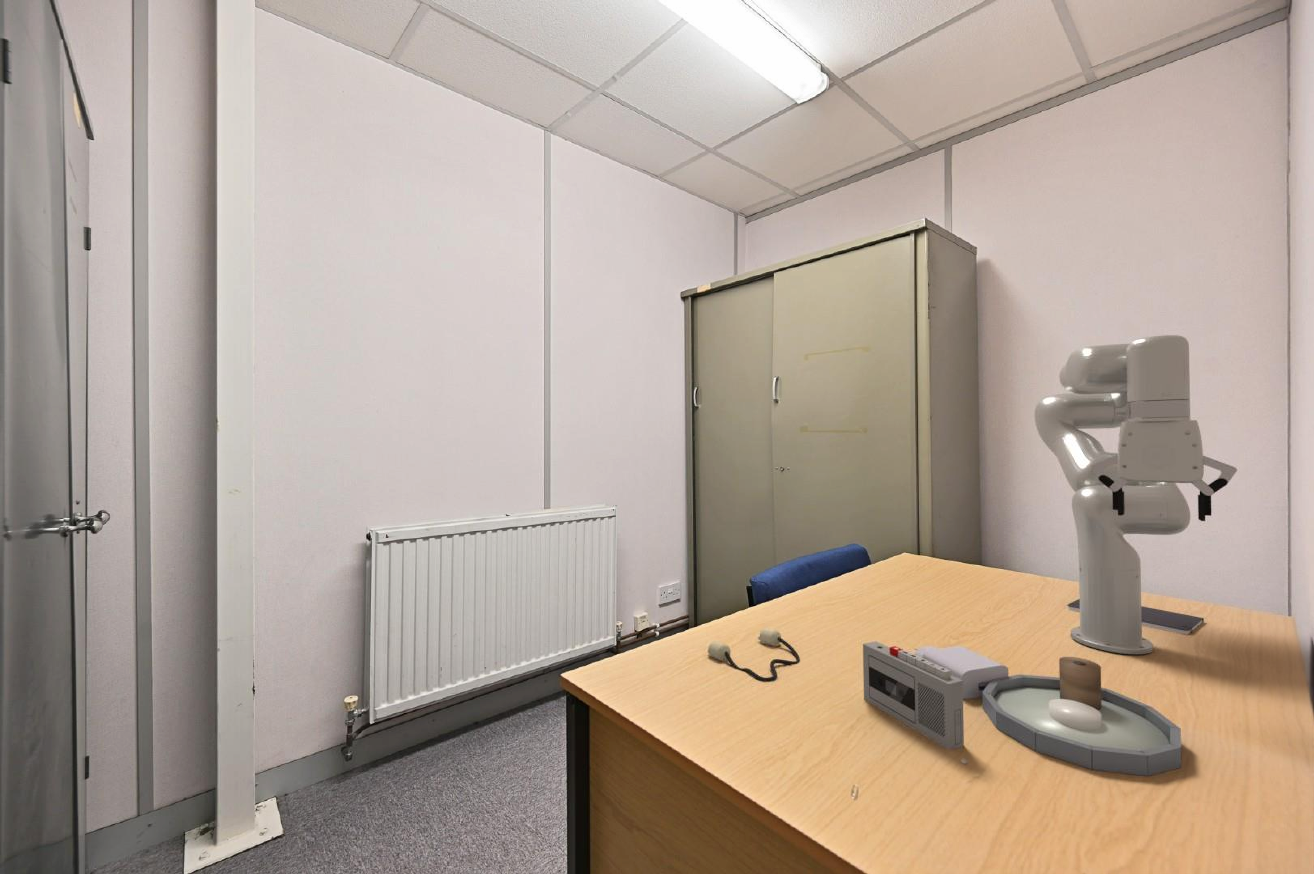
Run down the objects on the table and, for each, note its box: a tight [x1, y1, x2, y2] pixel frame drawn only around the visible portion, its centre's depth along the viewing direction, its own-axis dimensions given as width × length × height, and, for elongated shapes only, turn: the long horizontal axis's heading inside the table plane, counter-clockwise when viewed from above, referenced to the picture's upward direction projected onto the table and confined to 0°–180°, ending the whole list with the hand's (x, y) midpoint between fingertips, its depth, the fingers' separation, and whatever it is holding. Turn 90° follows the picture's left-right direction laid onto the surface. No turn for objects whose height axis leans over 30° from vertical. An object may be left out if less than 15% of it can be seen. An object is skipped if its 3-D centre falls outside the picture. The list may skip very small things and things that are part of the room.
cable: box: [707, 627, 801, 683], centre depth 103 cm, size 16×16×4 cm
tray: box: [981, 673, 1182, 777], centre depth 78 cm, size 22×22×2 cm
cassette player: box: [862, 641, 965, 751], centre depth 80 cm, size 16×3×10 cm, turn 23°
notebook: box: [1066, 598, 1204, 635], centre depth 123 cm, size 13×2×21 cm
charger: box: [913, 645, 1009, 700], centre depth 94 cm, size 5×9×15 cm
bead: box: [1058, 656, 1102, 710], centre depth 82 cm, size 5×5×6 cm
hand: (1159, 517), depth 88 cm, fingers open, 9 cm apart
